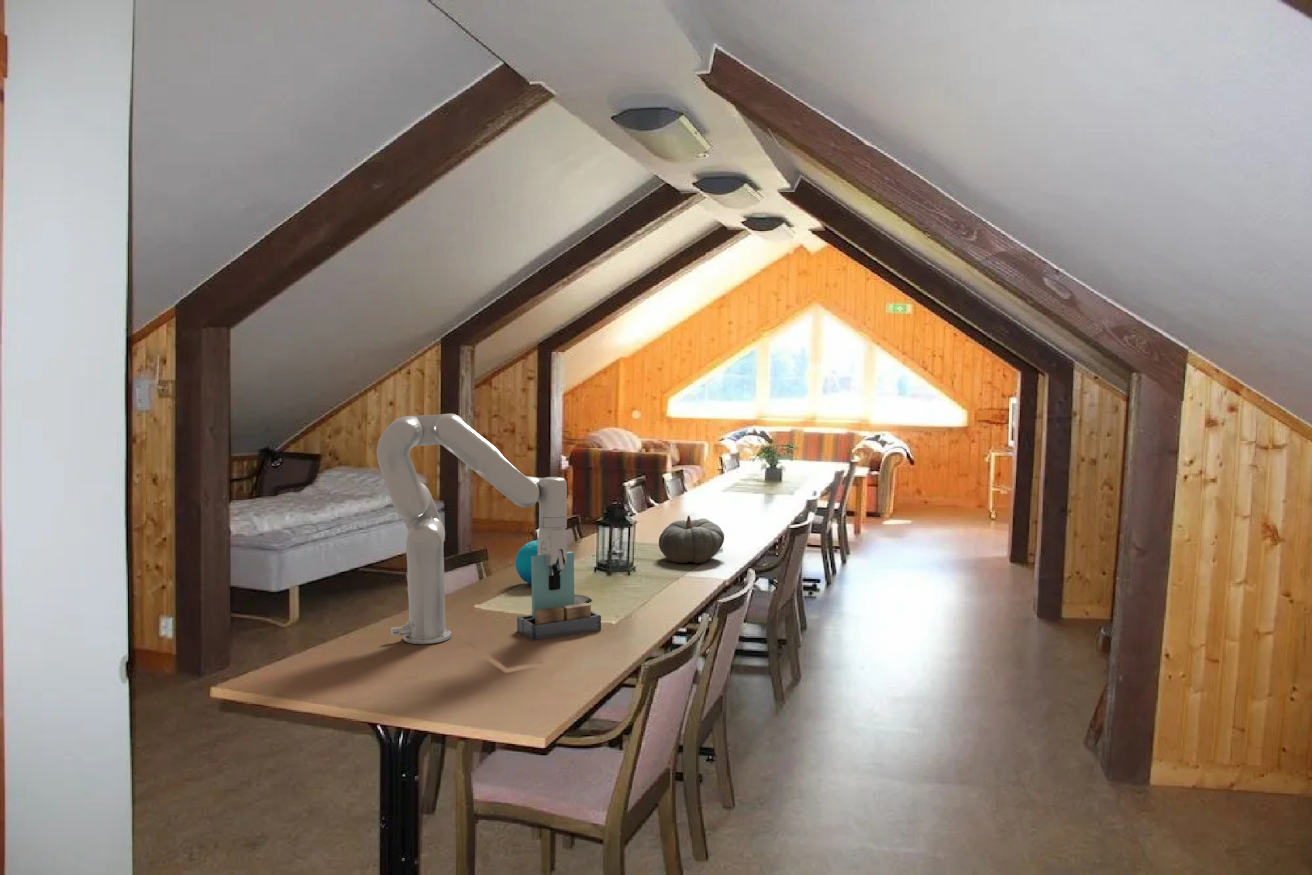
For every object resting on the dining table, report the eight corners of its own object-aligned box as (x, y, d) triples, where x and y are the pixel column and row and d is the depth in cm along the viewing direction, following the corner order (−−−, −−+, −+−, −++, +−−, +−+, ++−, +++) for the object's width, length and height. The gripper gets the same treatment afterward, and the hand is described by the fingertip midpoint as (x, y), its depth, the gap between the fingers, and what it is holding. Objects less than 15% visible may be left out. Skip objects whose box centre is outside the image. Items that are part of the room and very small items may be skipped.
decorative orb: (542, 591, 307) (541, 546, 306) (506, 586, 315) (505, 542, 314) (569, 582, 320) (568, 539, 319) (534, 578, 328) (533, 535, 327)
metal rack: (533, 644, 247) (532, 625, 247) (517, 634, 257) (517, 616, 256) (601, 633, 257) (600, 615, 257) (583, 624, 267) (583, 607, 266)
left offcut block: (540, 638, 249) (539, 612, 249) (535, 635, 252) (535, 609, 252) (564, 634, 253) (563, 608, 252) (559, 631, 256) (559, 606, 255)
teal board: (534, 622, 256) (533, 557, 254) (532, 621, 257) (531, 556, 256) (574, 616, 262) (573, 552, 260) (572, 615, 263) (571, 551, 262)
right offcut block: (567, 634, 253) (567, 608, 253) (562, 631, 256) (562, 606, 256) (590, 630, 257) (590, 605, 257) (586, 627, 260) (585, 602, 259)
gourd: (721, 546, 371) (718, 504, 367) (730, 569, 347) (726, 525, 343) (658, 553, 370) (654, 511, 366) (663, 577, 346) (658, 533, 342)
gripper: (529, 519, 262) (529, 584, 264) (552, 527, 249) (552, 596, 250) (553, 517, 266) (553, 581, 267) (577, 525, 253) (577, 593, 254)
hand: (553, 588), depth 259 cm, fingers closed on teal board, 1 cm apart
